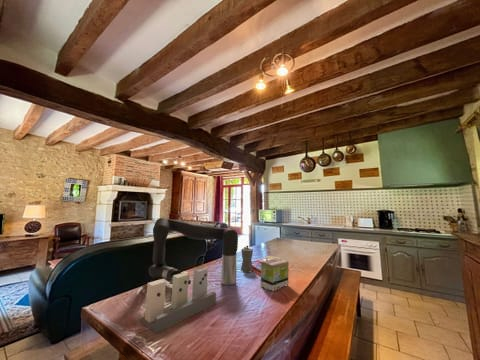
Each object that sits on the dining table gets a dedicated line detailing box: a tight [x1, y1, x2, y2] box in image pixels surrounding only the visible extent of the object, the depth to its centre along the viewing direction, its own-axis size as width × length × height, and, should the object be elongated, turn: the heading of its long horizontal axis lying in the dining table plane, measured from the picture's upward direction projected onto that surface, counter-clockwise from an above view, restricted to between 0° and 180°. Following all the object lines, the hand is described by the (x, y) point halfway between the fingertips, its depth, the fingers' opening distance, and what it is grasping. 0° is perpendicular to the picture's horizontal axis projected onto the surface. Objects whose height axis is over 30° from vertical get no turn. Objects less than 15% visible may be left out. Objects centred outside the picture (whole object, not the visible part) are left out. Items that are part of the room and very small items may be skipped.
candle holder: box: [265, 255, 281, 261], centre depth 141 cm, size 10×10×12 cm
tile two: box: [170, 272, 190, 309], centre depth 93 cm, size 4×6×14 cm
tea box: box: [260, 258, 289, 292], centre depth 122 cm, size 15×10×15 cm
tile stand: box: [139, 291, 217, 334], centre depth 91 cm, size 13×31×5 cm, turn 141°
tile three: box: [191, 266, 209, 300], centre depth 102 cm, size 4×6×14 cm
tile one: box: [144, 278, 166, 323], centre depth 84 cm, size 4×6×14 cm
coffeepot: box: [240, 245, 254, 273], centre depth 153 cm, size 15×9×18 cm, turn 13°
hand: (189, 282), depth 107 cm, fingers closed
